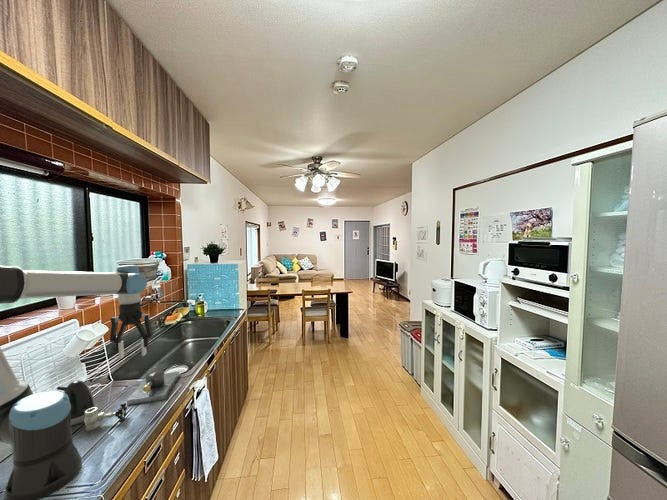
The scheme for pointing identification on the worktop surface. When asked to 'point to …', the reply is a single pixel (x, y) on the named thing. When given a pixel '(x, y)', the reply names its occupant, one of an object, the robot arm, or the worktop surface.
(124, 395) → the worktop surface
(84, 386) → the pump dispenser
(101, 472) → the worktop surface
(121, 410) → the valve
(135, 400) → the stand base
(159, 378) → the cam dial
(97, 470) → the worktop surface
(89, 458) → the worktop surface
